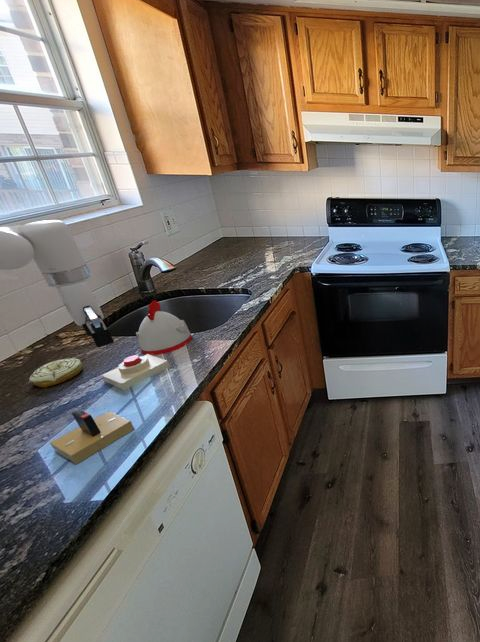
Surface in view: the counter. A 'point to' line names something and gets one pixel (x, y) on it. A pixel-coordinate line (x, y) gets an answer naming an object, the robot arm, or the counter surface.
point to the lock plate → (84, 445)
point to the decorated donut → (56, 372)
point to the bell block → (135, 372)
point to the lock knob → (86, 422)
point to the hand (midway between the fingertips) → (100, 338)
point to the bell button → (132, 360)
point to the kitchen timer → (162, 332)
